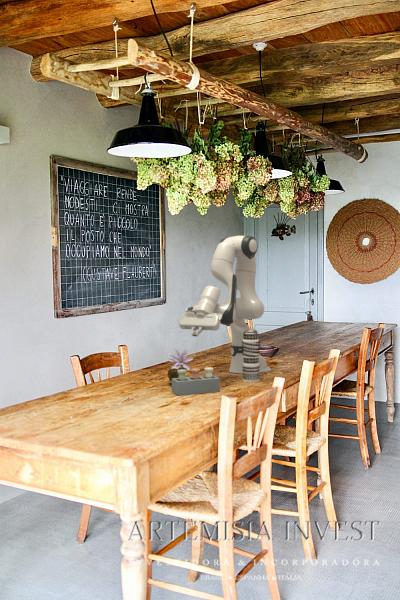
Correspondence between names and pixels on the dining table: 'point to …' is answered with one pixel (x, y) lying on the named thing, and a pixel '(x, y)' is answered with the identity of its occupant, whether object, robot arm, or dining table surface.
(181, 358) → the water lily
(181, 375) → the sage button
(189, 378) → the grey slotted holder
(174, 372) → the potato
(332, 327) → the dining table surface
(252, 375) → the decorative candle
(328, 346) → the dining table surface
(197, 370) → the terracotta button
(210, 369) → the cream button
